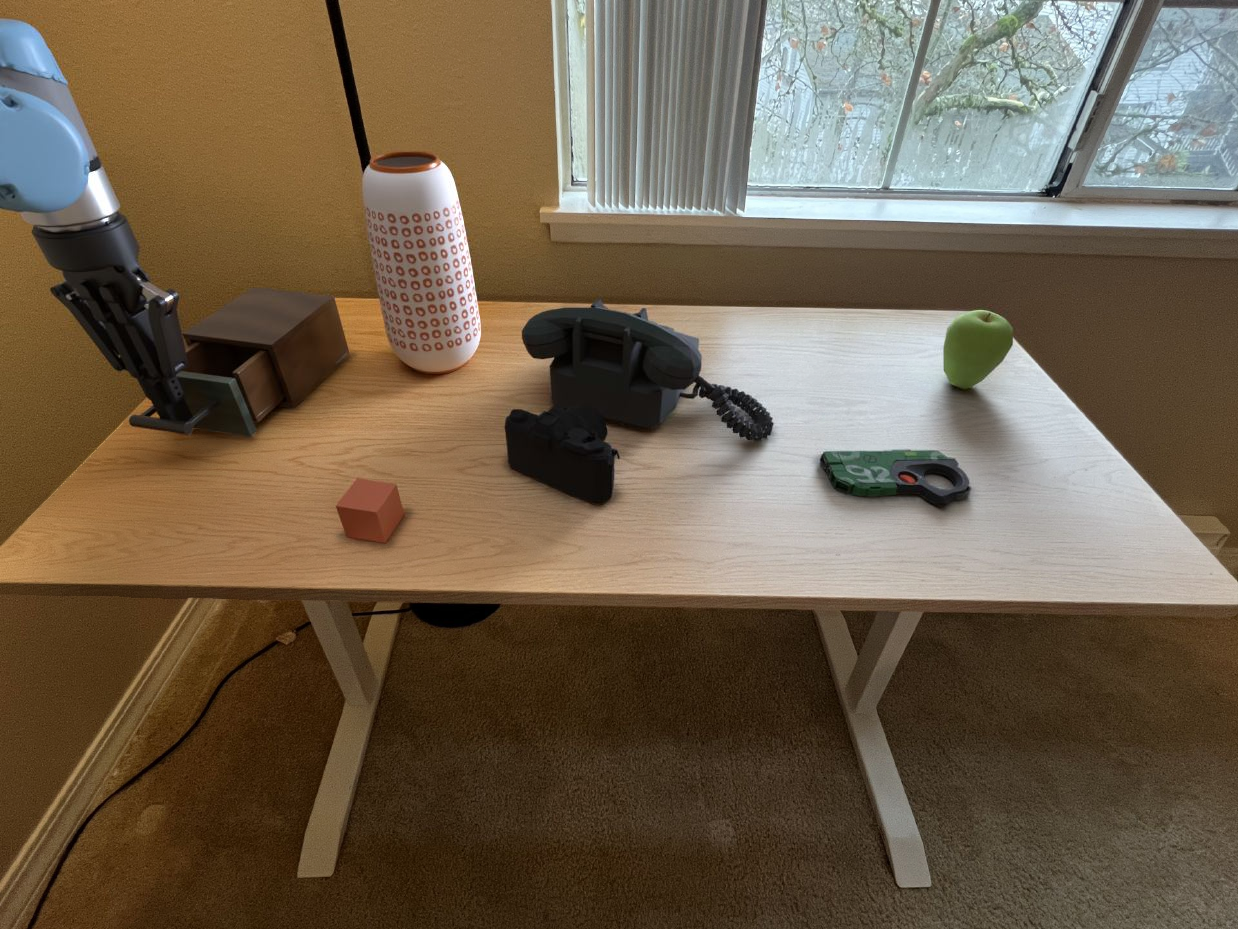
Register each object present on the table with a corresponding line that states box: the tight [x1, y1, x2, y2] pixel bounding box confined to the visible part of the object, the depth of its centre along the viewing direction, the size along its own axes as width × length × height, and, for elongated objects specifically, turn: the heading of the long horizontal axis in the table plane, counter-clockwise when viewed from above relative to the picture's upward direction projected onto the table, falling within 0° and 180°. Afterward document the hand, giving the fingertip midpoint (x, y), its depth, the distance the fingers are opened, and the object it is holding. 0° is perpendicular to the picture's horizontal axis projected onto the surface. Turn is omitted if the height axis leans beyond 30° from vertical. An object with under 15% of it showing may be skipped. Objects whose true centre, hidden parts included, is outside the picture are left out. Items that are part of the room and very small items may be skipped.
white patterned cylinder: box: [361, 150, 482, 375], centre depth 88 cm, size 13×13×28 cm
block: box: [335, 477, 405, 544], centre depth 68 cm, size 4×4×4 cm
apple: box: [942, 309, 1014, 390], centre depth 91 cm, size 9×8×12 cm
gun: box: [819, 449, 972, 508], centre depth 77 cm, size 16×1×10 cm
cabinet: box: [181, 286, 351, 409], centre depth 89 cm, size 15×13×10 cm
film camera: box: [503, 404, 621, 505], centre depth 75 cm, size 15×10×9 cm, turn 58°
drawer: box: [128, 341, 285, 438], centre depth 81 cm, size 20×11×8 cm, turn 169°
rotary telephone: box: [521, 298, 775, 442], centre depth 86 cm, size 33×22×15 cm, turn 69°
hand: (179, 422), depth 75 cm, fingers closed
